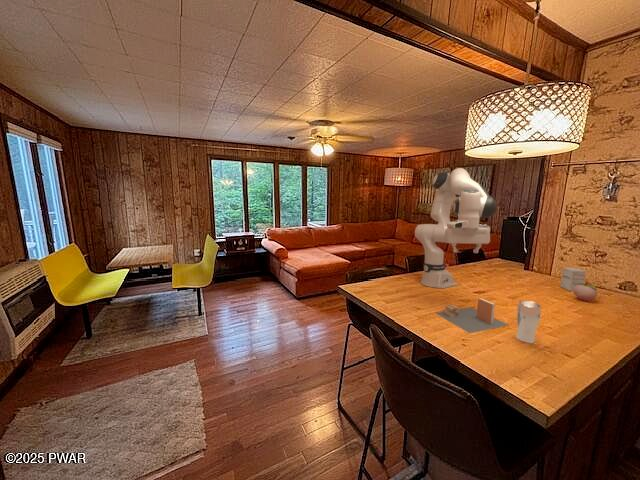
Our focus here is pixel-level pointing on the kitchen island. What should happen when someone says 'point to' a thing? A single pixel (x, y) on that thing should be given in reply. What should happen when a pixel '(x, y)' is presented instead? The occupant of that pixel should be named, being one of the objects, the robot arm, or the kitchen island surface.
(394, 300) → the kitchen island surface
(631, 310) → the kitchen island surface
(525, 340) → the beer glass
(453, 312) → the beech cube
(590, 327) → the kitchen island surface
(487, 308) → the tile
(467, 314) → the mat
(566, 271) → the supplement box
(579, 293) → the decorative fruit
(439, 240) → the robot arm
